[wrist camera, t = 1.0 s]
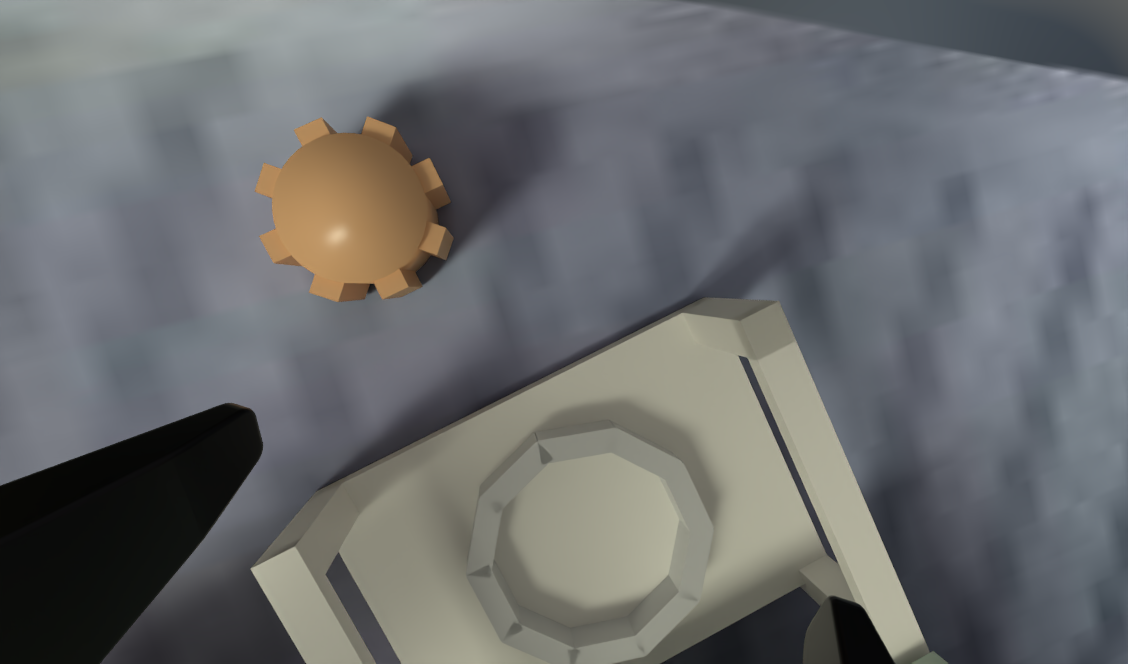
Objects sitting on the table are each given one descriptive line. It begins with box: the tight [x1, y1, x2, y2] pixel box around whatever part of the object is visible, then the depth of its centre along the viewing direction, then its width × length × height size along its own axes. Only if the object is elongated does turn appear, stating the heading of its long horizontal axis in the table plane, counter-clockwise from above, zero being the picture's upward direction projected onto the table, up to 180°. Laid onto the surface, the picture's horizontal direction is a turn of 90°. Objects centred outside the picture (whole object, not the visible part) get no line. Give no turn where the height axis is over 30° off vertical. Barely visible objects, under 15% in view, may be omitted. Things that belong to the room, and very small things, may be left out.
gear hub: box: [255, 117, 454, 302], centre depth 22 cm, size 6×6×5 cm
